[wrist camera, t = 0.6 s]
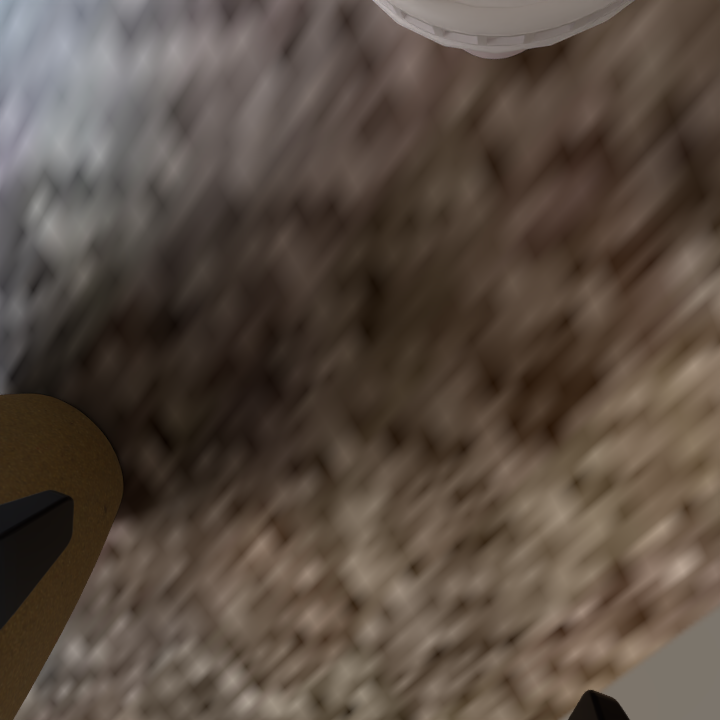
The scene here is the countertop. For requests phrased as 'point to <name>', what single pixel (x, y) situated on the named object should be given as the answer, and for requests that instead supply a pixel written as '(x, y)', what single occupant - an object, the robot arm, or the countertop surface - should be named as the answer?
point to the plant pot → (90, 524)
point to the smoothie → (500, 22)
